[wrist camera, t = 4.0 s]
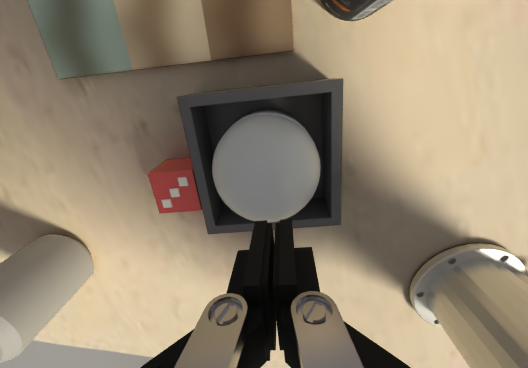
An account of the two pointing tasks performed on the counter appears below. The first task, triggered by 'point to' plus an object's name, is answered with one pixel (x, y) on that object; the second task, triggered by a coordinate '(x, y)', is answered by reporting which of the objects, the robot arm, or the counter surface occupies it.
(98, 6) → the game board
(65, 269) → the can
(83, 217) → the counter surface
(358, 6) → the pill bottle
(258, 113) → the dome
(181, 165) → the box
